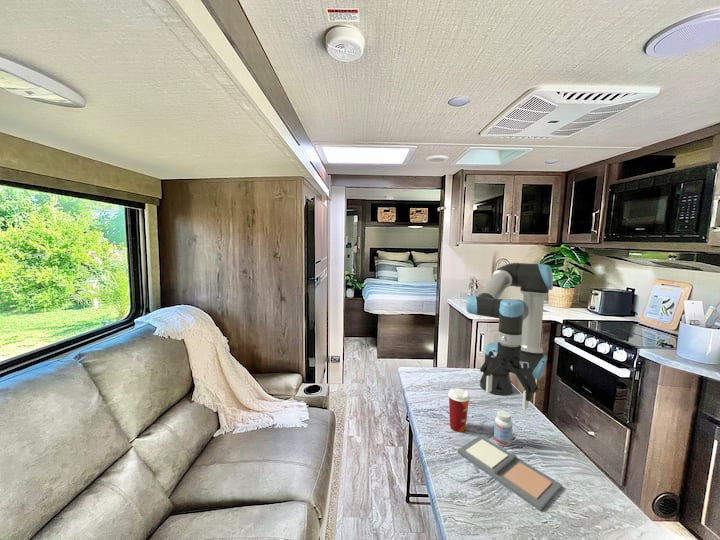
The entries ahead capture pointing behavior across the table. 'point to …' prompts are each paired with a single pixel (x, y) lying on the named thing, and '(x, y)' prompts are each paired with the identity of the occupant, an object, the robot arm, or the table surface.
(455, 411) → the coffee cup
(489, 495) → the table surface
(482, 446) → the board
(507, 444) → the pill bottle
